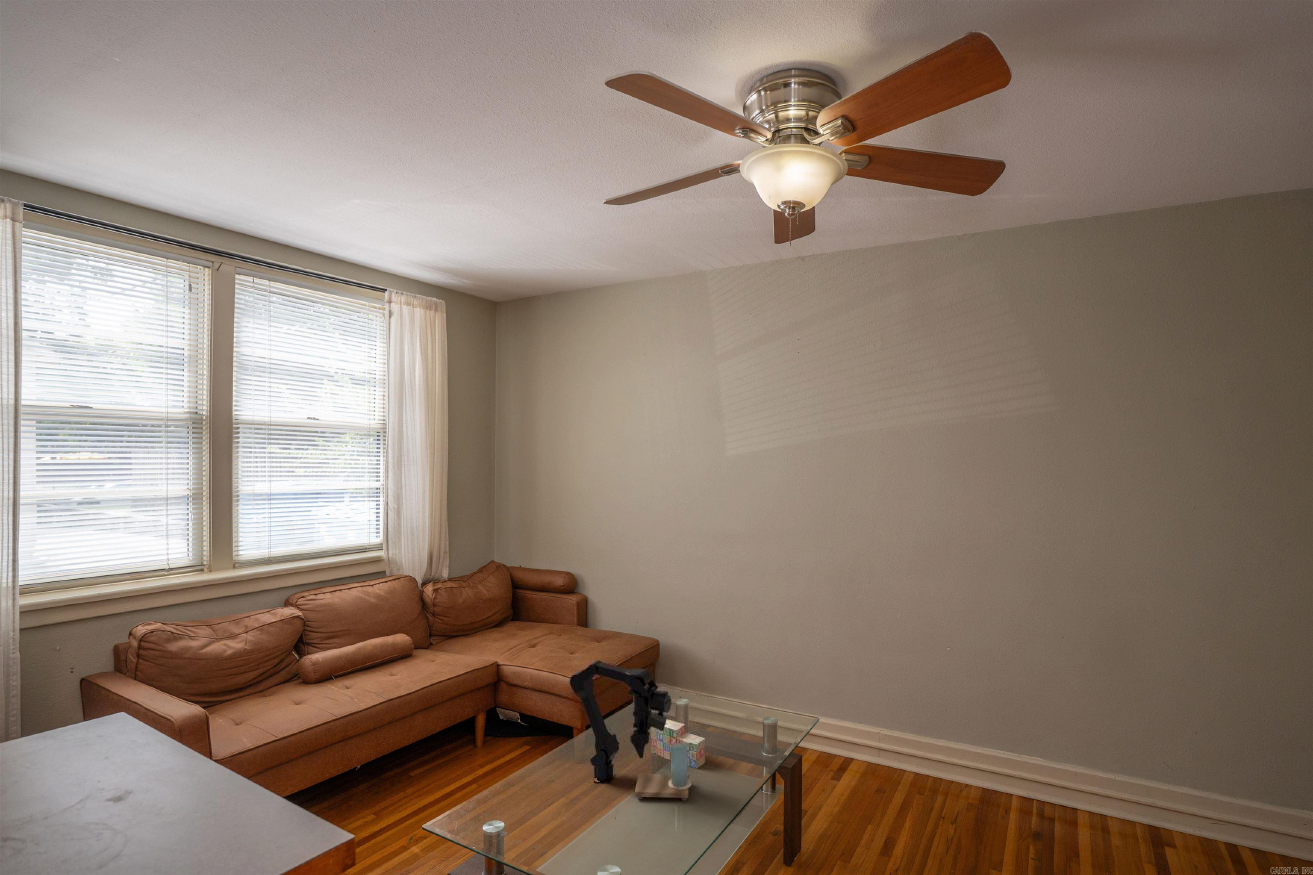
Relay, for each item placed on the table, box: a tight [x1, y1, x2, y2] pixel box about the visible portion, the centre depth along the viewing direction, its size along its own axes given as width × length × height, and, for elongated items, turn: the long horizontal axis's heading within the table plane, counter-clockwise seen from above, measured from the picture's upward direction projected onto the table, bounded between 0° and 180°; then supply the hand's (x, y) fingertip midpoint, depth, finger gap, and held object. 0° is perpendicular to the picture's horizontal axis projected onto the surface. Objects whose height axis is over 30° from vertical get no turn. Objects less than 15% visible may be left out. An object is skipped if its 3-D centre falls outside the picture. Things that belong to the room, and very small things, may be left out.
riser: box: [634, 773, 692, 802], centre depth 241 cm, size 19×12×3 cm, turn 85°
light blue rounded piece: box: [670, 743, 688, 787], centre depth 240 cm, size 6×6×12 cm
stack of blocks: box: [650, 718, 706, 769], centre depth 265 cm, size 21×6×12 cm, turn 52°
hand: (642, 751), depth 243 cm, fingers open, 9 cm apart
